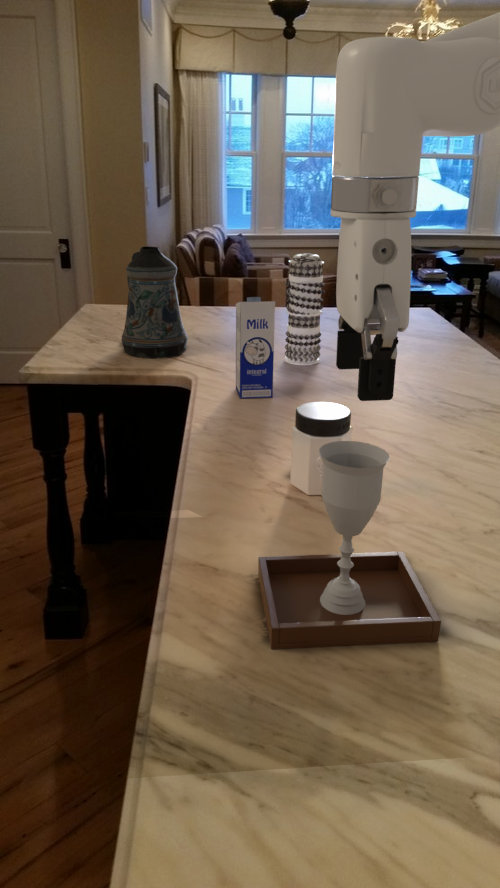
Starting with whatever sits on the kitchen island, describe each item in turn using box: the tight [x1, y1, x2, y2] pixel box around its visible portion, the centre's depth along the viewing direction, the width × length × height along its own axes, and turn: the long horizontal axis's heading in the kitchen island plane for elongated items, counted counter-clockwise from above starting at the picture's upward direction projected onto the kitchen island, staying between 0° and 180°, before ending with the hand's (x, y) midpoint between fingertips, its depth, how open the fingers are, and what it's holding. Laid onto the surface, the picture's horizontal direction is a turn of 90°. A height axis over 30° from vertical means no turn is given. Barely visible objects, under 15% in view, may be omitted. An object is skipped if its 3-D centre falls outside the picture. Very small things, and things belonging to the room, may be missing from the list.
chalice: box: [319, 440, 391, 615], centre depth 75 cm, size 7×7×18 cm
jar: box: [289, 401, 354, 496], centre depth 105 cm, size 9×8×12 cm
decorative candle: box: [284, 253, 326, 366], centre depth 166 cm, size 9×9×25 cm
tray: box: [257, 551, 442, 650], centre depth 79 cm, size 18×14×3 cm
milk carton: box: [235, 296, 276, 400], centre depth 144 cm, size 7×7×20 cm
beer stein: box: [121, 246, 189, 359], centre depth 174 cm, size 16×19×25 cm
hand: (362, 382), depth 69 cm, fingers open, 9 cm apart
